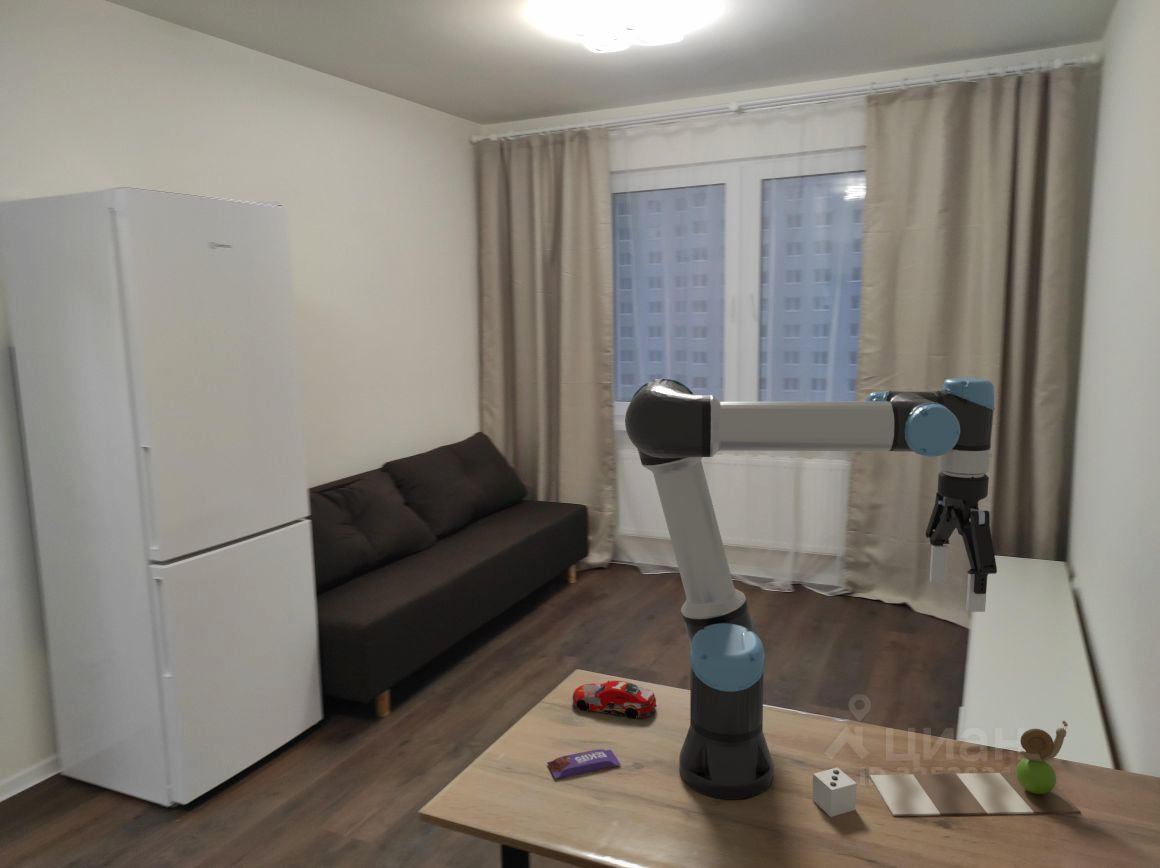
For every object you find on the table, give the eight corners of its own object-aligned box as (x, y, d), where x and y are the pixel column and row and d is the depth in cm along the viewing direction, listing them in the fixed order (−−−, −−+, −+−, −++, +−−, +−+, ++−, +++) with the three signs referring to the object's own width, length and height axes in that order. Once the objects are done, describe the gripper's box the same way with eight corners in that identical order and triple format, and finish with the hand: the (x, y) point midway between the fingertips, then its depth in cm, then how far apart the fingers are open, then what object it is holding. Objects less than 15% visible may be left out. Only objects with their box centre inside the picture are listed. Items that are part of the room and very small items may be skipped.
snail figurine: (1067, 804, 122) (1074, 731, 120) (1021, 799, 123) (1027, 727, 121) (1054, 783, 127) (1060, 713, 125) (1010, 779, 128) (1015, 709, 126)
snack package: (610, 744, 139) (621, 759, 134) (610, 754, 139) (621, 770, 134) (546, 756, 135) (554, 773, 130) (546, 767, 135) (555, 784, 131)
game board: (893, 816, 120) (893, 814, 120) (869, 776, 130) (869, 775, 130) (1080, 812, 120) (1080, 811, 120) (1042, 773, 130) (1042, 772, 130)
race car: (567, 710, 154) (566, 686, 153) (580, 694, 160) (579, 670, 159) (649, 724, 148) (649, 699, 147) (659, 706, 154) (658, 682, 153)
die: (830, 817, 120) (831, 789, 120) (812, 800, 125) (813, 772, 124) (855, 810, 122) (856, 782, 121) (836, 793, 126) (837, 766, 125)
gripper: (1028, 490, 120) (1017, 624, 123) (951, 457, 144) (944, 570, 148) (977, 490, 120) (968, 625, 123) (909, 458, 144) (904, 571, 148)
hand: (955, 595), depth 135 cm, fingers open, 13 cm apart
